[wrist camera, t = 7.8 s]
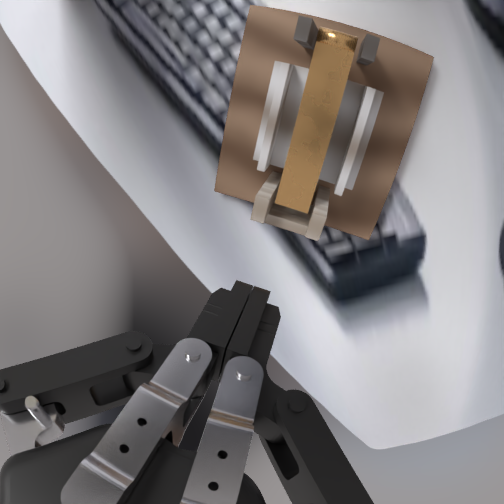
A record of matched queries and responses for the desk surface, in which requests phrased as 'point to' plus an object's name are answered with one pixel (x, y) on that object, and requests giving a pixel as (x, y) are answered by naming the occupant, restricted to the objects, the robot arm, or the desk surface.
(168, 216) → the desk surface
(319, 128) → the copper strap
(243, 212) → the desk surface
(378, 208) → the wooden jig fixture
